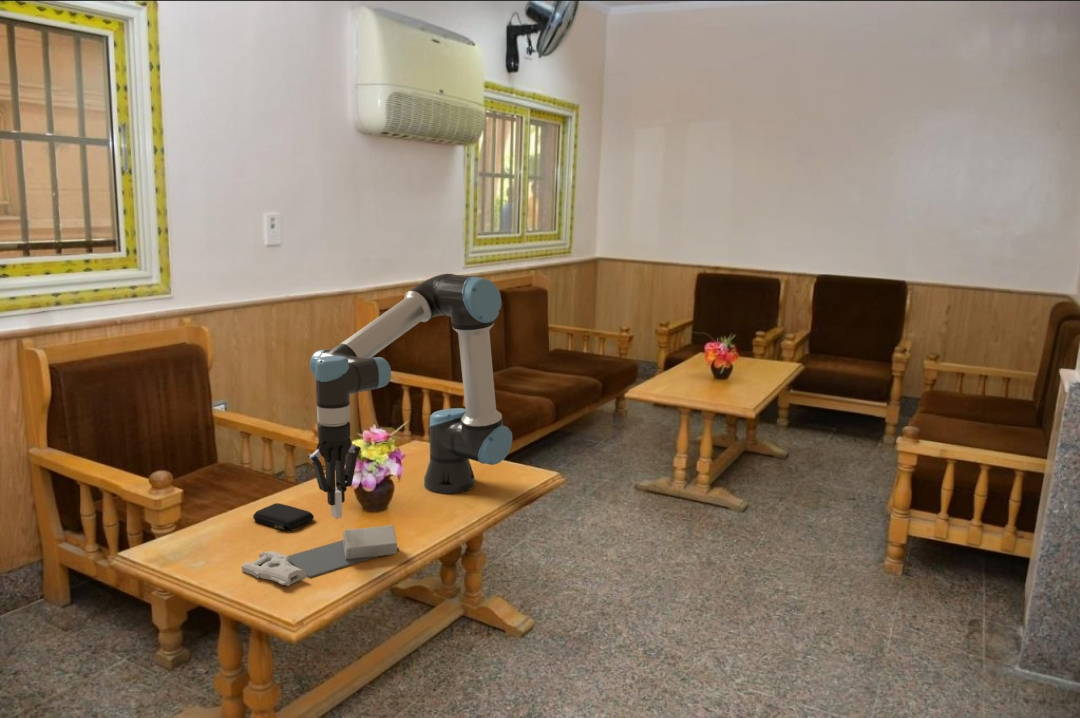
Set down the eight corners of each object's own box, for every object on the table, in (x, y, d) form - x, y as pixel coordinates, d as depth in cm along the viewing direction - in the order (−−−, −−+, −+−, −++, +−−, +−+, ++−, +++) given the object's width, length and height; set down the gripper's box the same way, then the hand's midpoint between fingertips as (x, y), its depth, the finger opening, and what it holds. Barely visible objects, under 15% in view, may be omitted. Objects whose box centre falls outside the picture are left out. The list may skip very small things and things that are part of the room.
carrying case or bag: (246, 523, 221) (287, 536, 214) (246, 512, 220) (287, 524, 213) (276, 510, 230) (317, 522, 223) (276, 500, 229) (316, 511, 223)
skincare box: (344, 560, 200) (395, 556, 204) (346, 547, 197) (397, 544, 201) (342, 540, 204) (392, 536, 208) (343, 527, 202) (394, 524, 206)
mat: (372, 532, 216) (372, 531, 216) (399, 549, 207) (399, 548, 207) (284, 558, 200) (284, 556, 200) (309, 578, 191) (309, 576, 191)
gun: (319, 561, 192) (284, 578, 184) (320, 575, 192) (285, 593, 184) (267, 545, 202) (232, 560, 194) (269, 558, 203) (233, 574, 194)
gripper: (350, 414, 204) (353, 505, 209) (300, 423, 195) (304, 518, 200) (366, 420, 198) (368, 514, 203) (315, 430, 190) (319, 528, 195)
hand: (336, 516), depth 202 cm, fingers closed
